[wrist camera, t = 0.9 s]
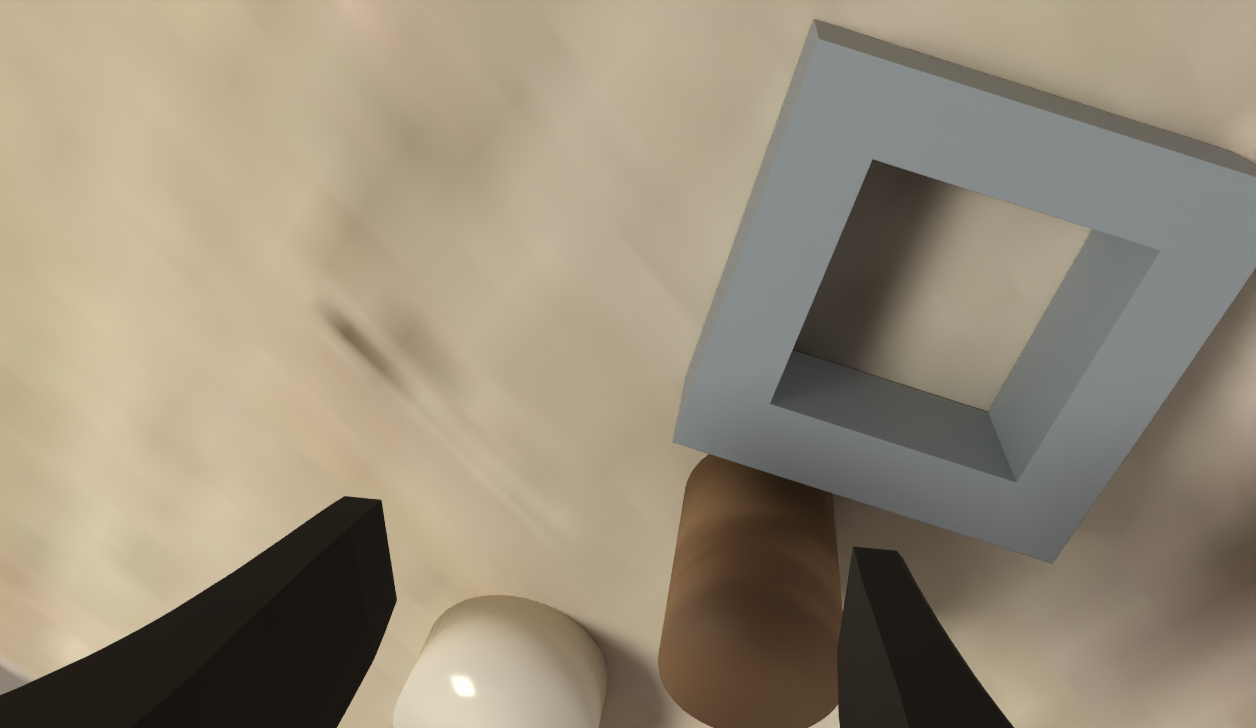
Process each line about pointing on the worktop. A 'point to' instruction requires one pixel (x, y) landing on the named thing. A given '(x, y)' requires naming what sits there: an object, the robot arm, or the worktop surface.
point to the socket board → (1062, 342)
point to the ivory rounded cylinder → (504, 670)
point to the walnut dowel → (753, 601)
